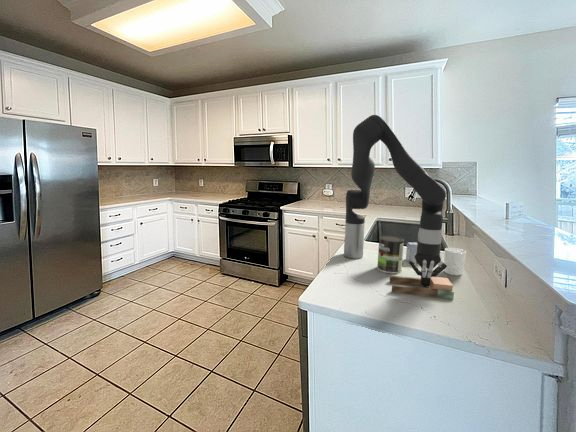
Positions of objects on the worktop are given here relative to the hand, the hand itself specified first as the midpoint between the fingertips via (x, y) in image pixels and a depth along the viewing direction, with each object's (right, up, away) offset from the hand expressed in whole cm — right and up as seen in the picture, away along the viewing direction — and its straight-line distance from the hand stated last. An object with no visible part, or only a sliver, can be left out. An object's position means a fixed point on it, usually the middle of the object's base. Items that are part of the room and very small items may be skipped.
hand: (424, 286), depth 105 cm
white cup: (+20, +1, +18) cm, 27 cm away
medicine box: (+11, +4, +32) cm, 34 cm away
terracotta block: (+5, -2, -1) cm, 5 cm away
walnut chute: (-2, -1, +1) cm, 2 cm away
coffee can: (-5, +2, +21) cm, 22 cm away
